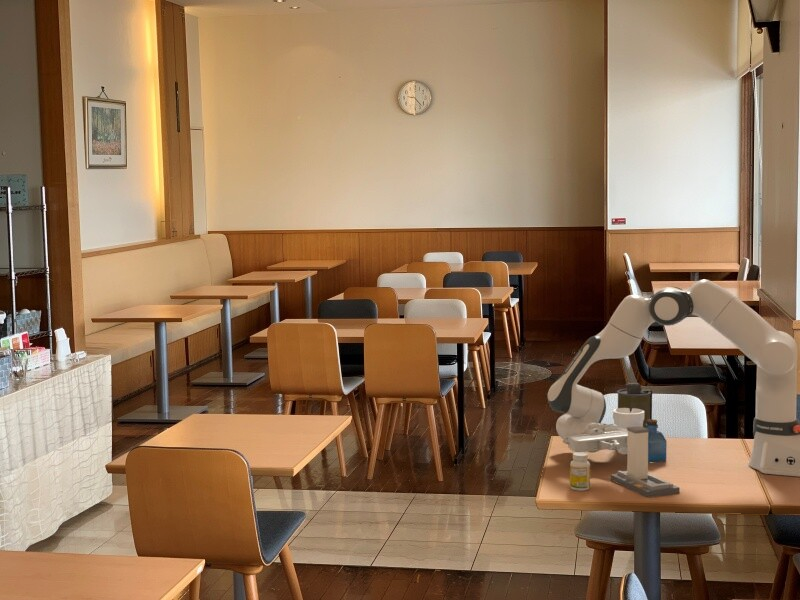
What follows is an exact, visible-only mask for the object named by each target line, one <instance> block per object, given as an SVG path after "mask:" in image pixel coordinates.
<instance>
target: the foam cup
mask: <svg viewBox="0 0 800 600" xmlns="http://www.w3.org/2000/svg"><path fill="white" fill-rule="evenodd" d="M612 419H613V422H614V423H613V424H616V425H618V428H623V429H626V430H627V427H637V426H641V427H643V420H644V410H642V409H635V408H632V411H631V413H630V409H629V408H618V407H617V408H615V409H613V411H612ZM617 453H618V454H621V453H623V454H622V455H626V454H627V447H622V448H620V449H619V450H617Z"/></svg>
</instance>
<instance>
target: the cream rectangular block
mask: <svg viewBox="0 0 800 600" xmlns="http://www.w3.org/2000/svg"><path fill="white" fill-rule="evenodd" d="M627 431H628V442H627V455H626V456H627V458H626V459H627V461H626V462H627V465H626V467H627V469H626V471H627V474H629V475H631V476H633V477H636V478H638V479H647V478H648V473H649V463H648V432H649V429H647V428H644V427H641V426H637V427H627Z"/></svg>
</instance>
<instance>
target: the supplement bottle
mask: <svg viewBox="0 0 800 600" xmlns="http://www.w3.org/2000/svg"><path fill="white" fill-rule="evenodd" d="M588 456H589V454H588V452H587V453H586V452H574V453H572V459H573V460H571V461H570V464H569V465H570V466H569V471H570V472H569V474H570V475H569V481H570V482H569V486H570V489H571V490H572V491H579V492H580V491H581V492H582V491H583V492H584V491H588V490H590V488H591V463H590V461H588V459H589V457H588Z"/></svg>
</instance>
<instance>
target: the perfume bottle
mask: <svg viewBox="0 0 800 600" xmlns="http://www.w3.org/2000/svg"><path fill="white" fill-rule="evenodd" d="M646 428H647V429H649V432H648V462H655V463H661V462H660V461H664V462H667V448H668V447H667V444H668V443H667V439H666V438H665V436H664V434H663V433H662V432H661V431H659V430H658V428H659V424H658V420H657V419H653V418H652V419H649V420H647V424H646Z"/></svg>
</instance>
